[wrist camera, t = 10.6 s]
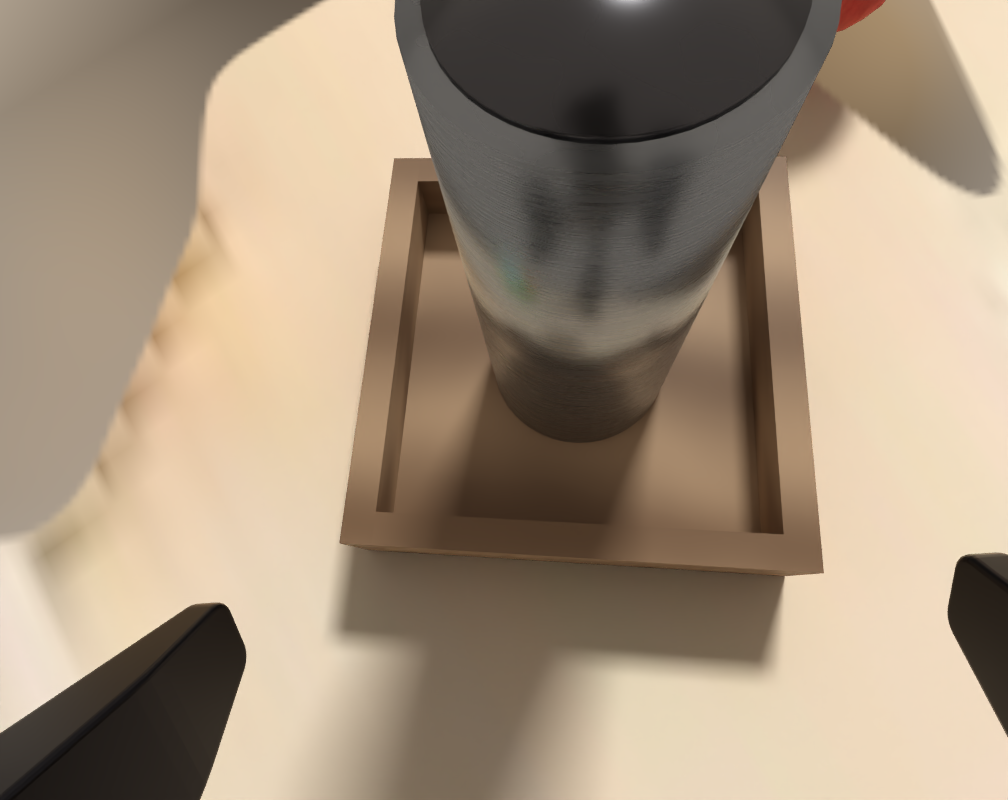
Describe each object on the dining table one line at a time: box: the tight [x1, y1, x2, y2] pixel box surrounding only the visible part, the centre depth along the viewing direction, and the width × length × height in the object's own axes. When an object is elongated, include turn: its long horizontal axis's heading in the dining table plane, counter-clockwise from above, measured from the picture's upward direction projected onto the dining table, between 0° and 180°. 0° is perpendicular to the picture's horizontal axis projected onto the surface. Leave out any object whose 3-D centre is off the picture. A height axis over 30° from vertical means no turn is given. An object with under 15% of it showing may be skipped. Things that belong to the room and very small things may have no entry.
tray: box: [340, 156, 824, 576], centre depth 21 cm, size 14×14×3 cm
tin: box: [394, 0, 842, 443], centre depth 15 cm, size 6×6×14 cm
